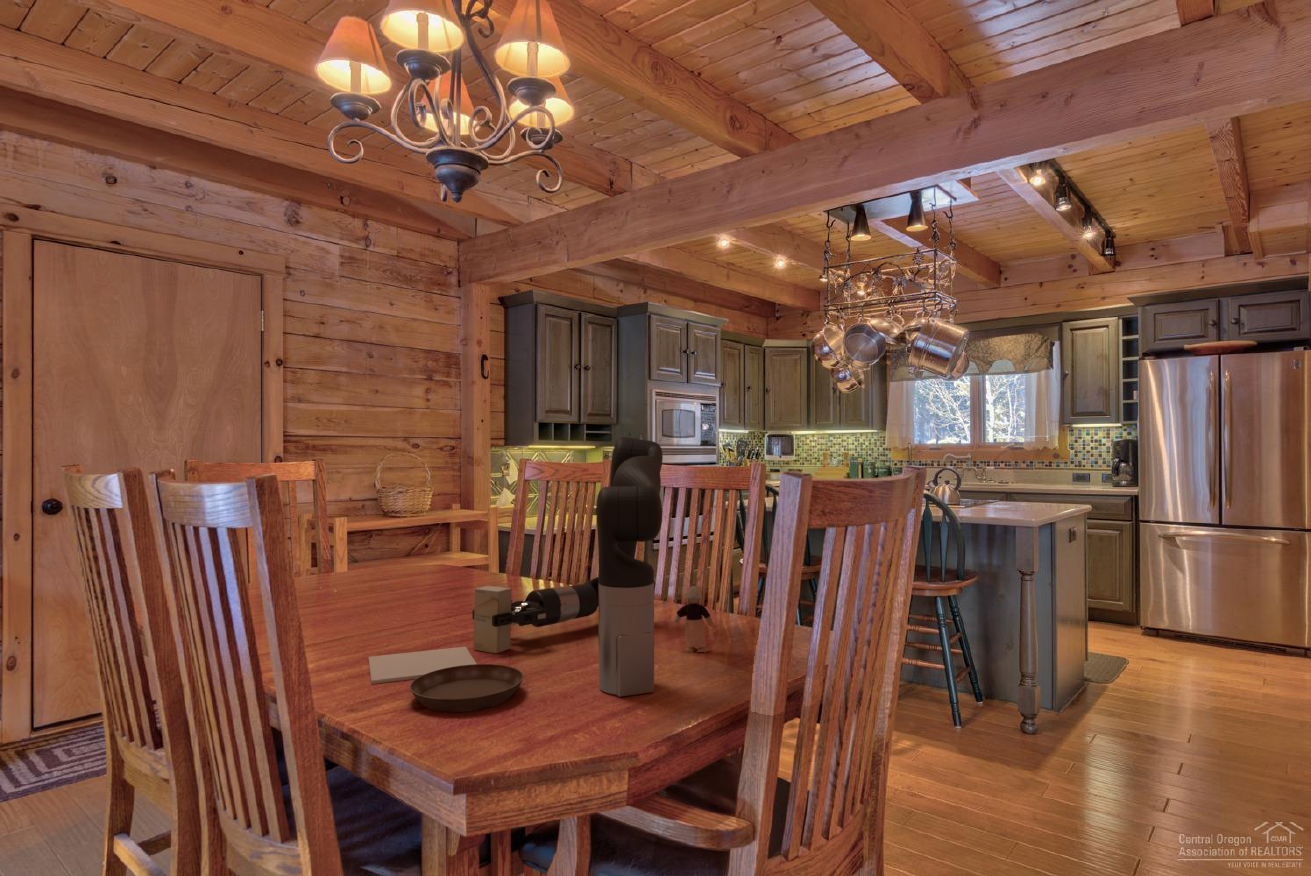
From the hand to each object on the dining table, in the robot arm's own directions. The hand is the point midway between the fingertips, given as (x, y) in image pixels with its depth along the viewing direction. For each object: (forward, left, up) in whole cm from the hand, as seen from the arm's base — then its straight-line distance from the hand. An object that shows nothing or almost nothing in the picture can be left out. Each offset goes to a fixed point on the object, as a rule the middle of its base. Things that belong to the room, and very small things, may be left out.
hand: (483, 618), depth 147 cm
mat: (-5, +12, -6) cm, 15 cm away
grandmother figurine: (-16, -38, -7) cm, 42 cm away
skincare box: (+1, -2, -7) cm, 7 cm away
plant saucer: (-26, +7, -7) cm, 28 cm away
